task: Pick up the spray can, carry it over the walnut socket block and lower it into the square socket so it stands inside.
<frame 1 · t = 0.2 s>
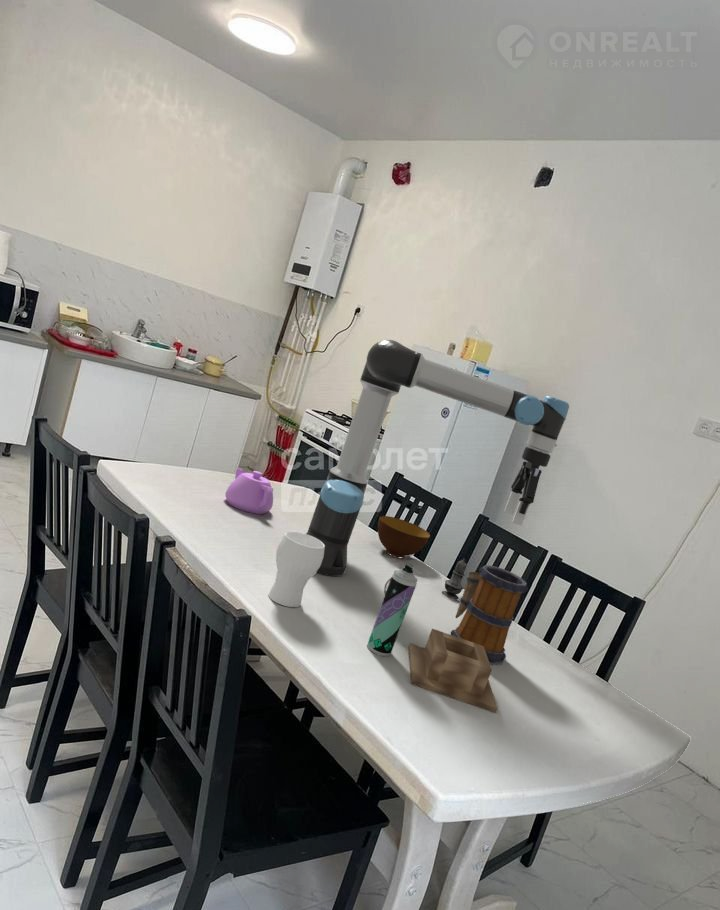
hand: (512, 518, 201), 28 cm above the table, fingers open, 13 cm apart
spray can: (378, 650, 149), on the table
cup: (284, 600, 159), on the table
light bulb: (386, 622, 167), on the table
bowl: (394, 554, 229), on the table
mug: (470, 645, 172), on the table
teapot: (246, 507, 225), on the table
dark grey chess piece: (449, 596, 205), on the table
socket block: (449, 677, 148), on the table
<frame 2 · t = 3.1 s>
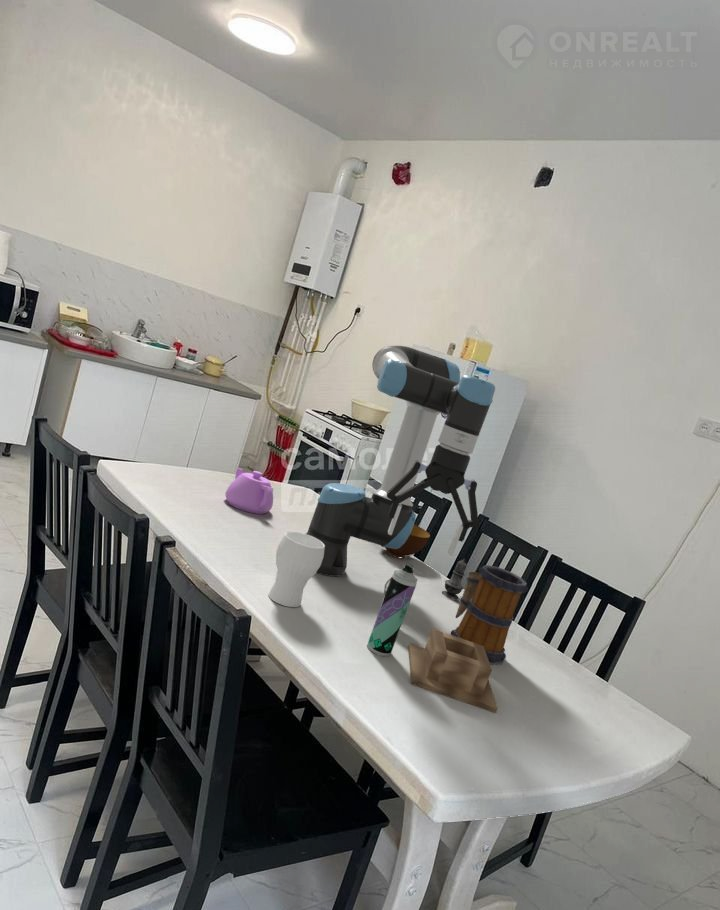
hand: (419, 543, 147), 25 cm above the table, fingers open, 13 cm apart
nothing on the table moved.
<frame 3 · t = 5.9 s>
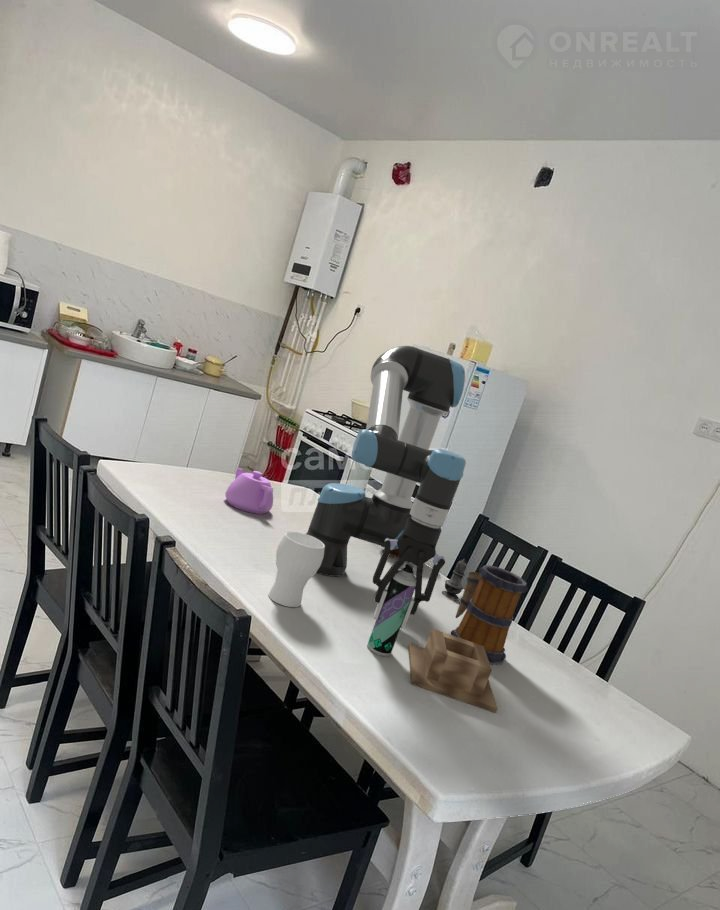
hand: (389, 621, 148), 7 cm above the table, fingers closed on spray can, 5 cm apart
spray can: (378, 650, 149), on the table, touching gripper
everything else where it was.
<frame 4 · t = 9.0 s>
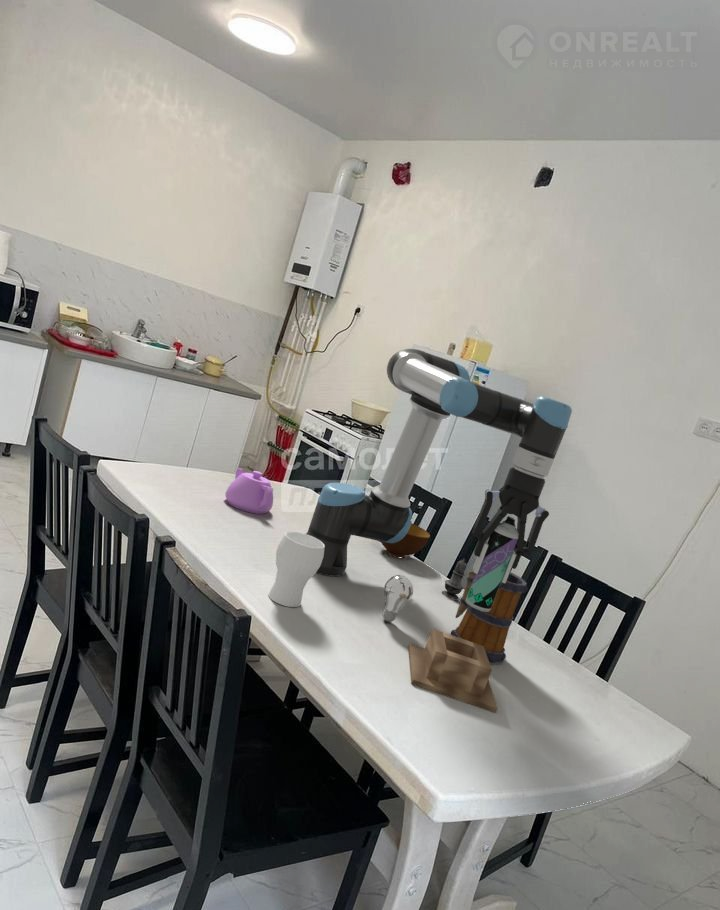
hand: (488, 575, 144), 24 cm above the table, fingers closed on spray can, 5 cm apart
spray can: (477, 606, 145), point 17 cm above the table, touching gripper
everything else where it was.
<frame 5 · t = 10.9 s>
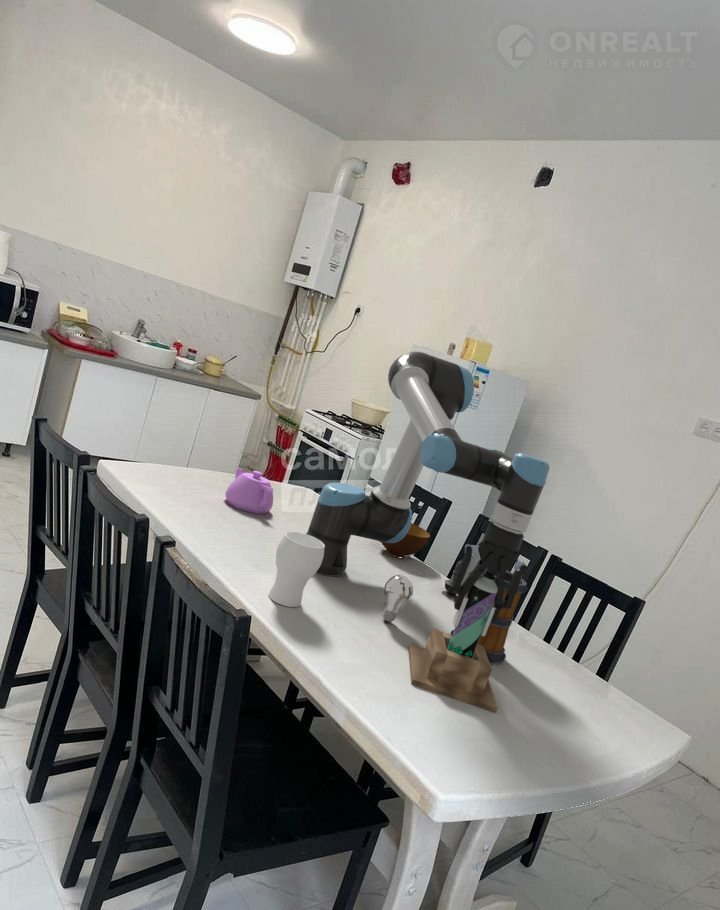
hand: (468, 628, 146), 12 cm above the table, fingers closed on spray can, 5 cm apart
spray can: (457, 658, 147), point 5 cm above the table, touching gripper
everything else where it was.
when the fingers open (9 cm above the table, at t = 12.2 s): spray can drops 1 cm, resting on socket block.
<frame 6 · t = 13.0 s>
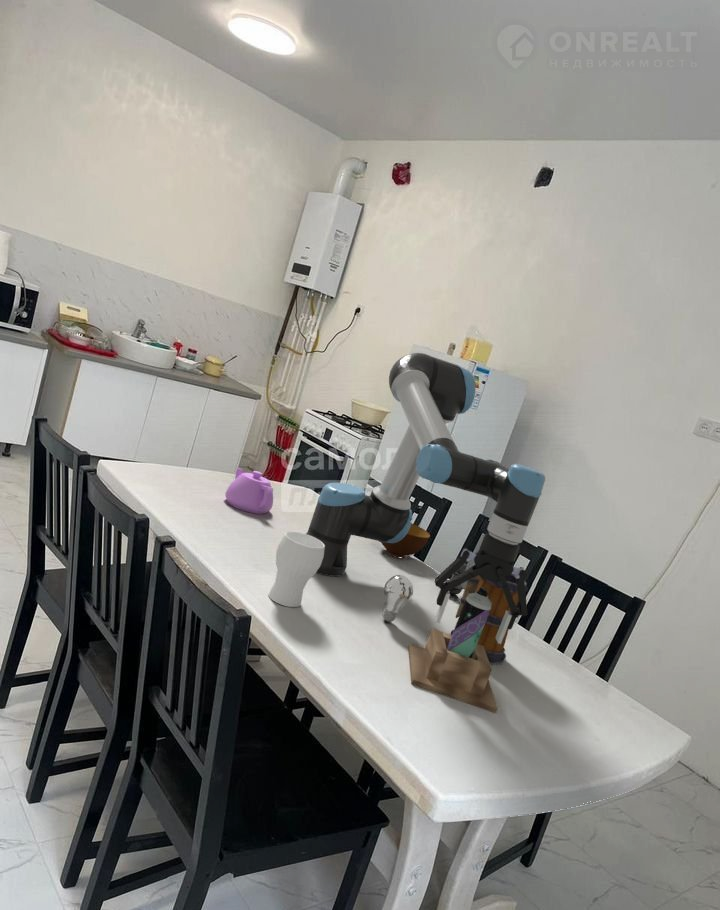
hand: (467, 630, 146), 11 cm above the table, fingers open, 13 cm apart
spray can: (451, 674, 147), point 1 cm above the table, touching socket block
everything else where it was.
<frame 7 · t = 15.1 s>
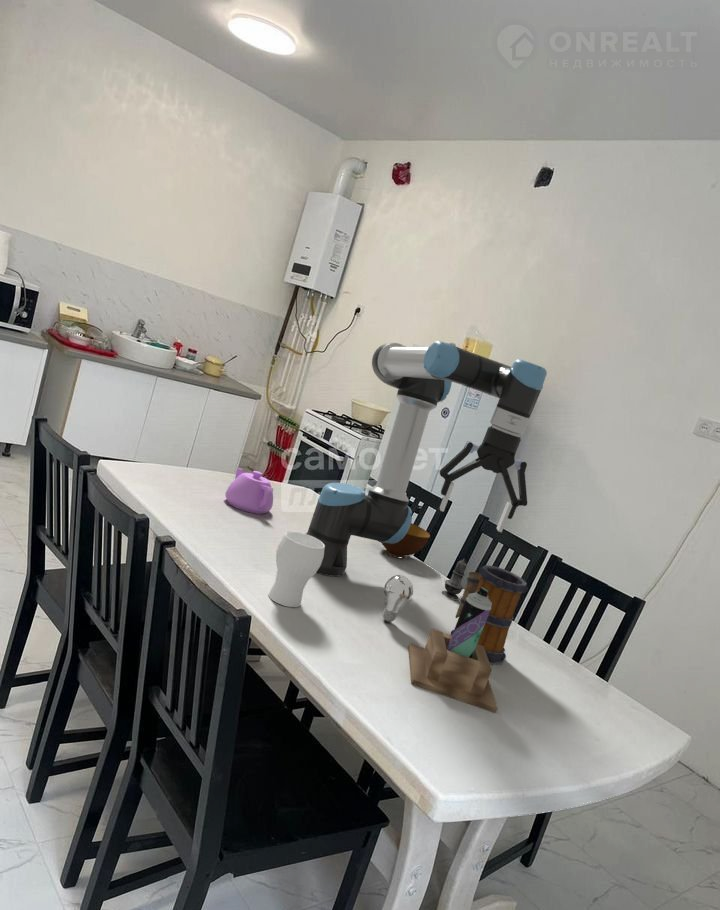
hand: (470, 520, 154), 32 cm above the table, fingers open, 13 cm apart
nothing on the table moved.
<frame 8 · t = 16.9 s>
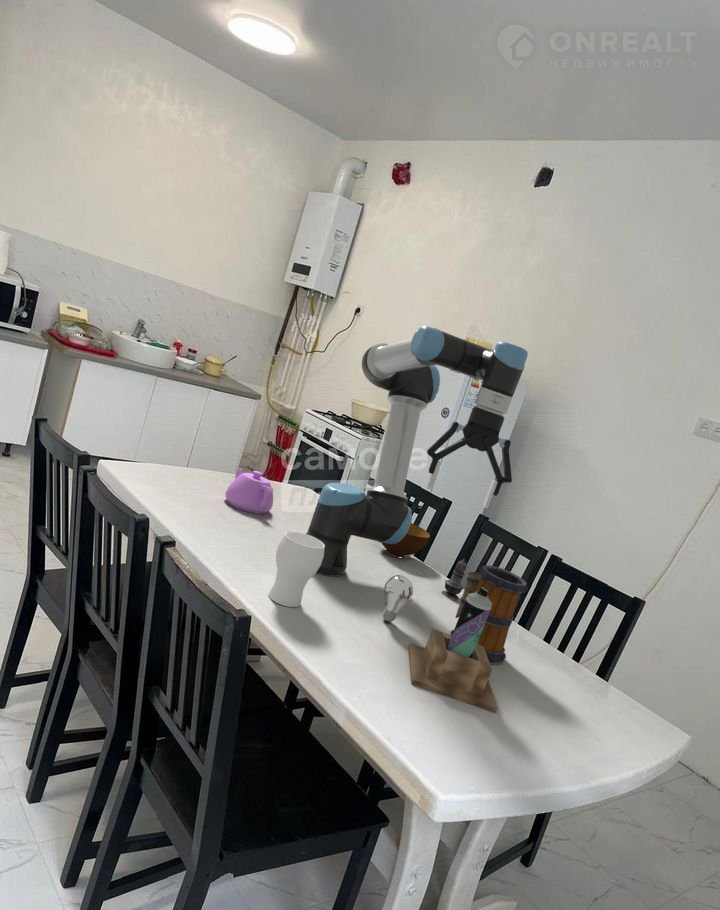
hand: (457, 497, 160), 35 cm above the table, fingers open, 13 cm apart
nothing on the table moved.
at the end: spray can 0.1 cm off-centre on the socket block, point 0.8 cm above the socket block's base; spray can tilted 0°; the gripper is holding nothing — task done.
